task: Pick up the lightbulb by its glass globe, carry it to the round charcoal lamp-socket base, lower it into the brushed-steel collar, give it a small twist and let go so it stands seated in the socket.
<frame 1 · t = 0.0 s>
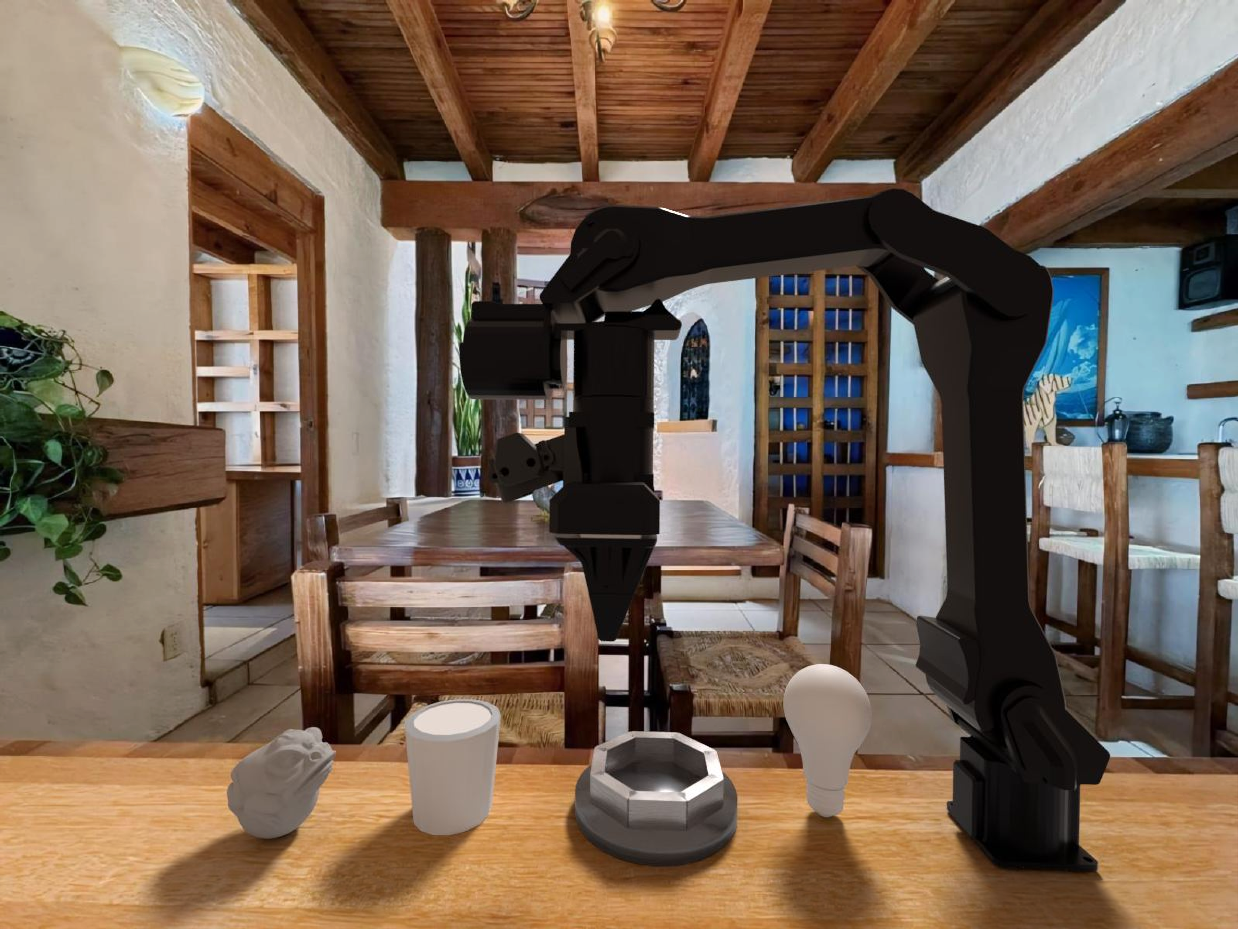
hand: (611, 620, 41), 15 cm above the table, fingers open, 9 cm apart
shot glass: (452, 813, 42), on the table
socket base: (655, 808, 43), on the table
frog figurine: (282, 834, 40), on the table
lightbulb: (824, 817, 42), on the table
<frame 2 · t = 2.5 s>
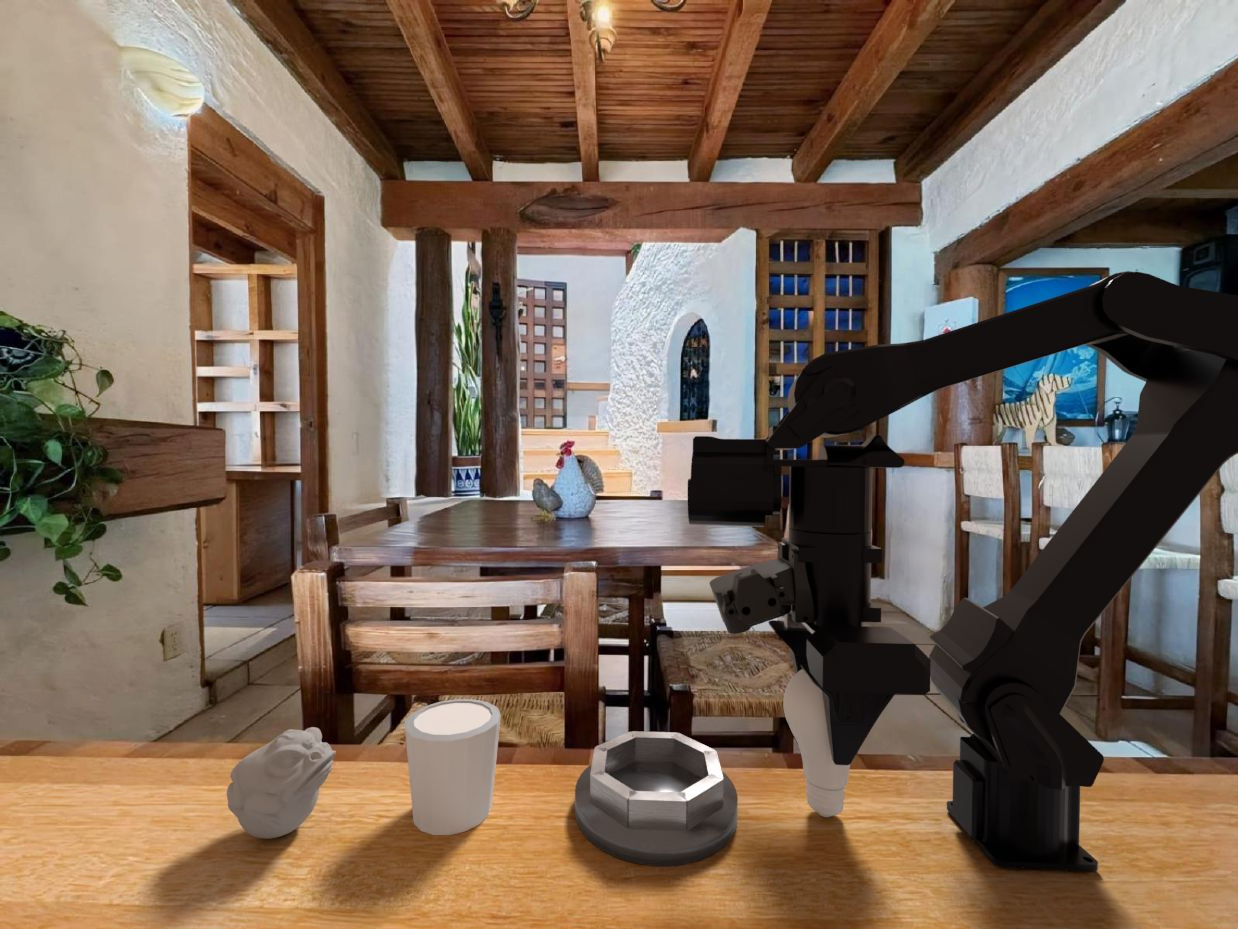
hand: (826, 740, 42), 6 cm above the table, fingers closed on lightbulb, 6 cm apart
lightbulb: (824, 817, 42), on the table, touching gripper
everything else where it was.
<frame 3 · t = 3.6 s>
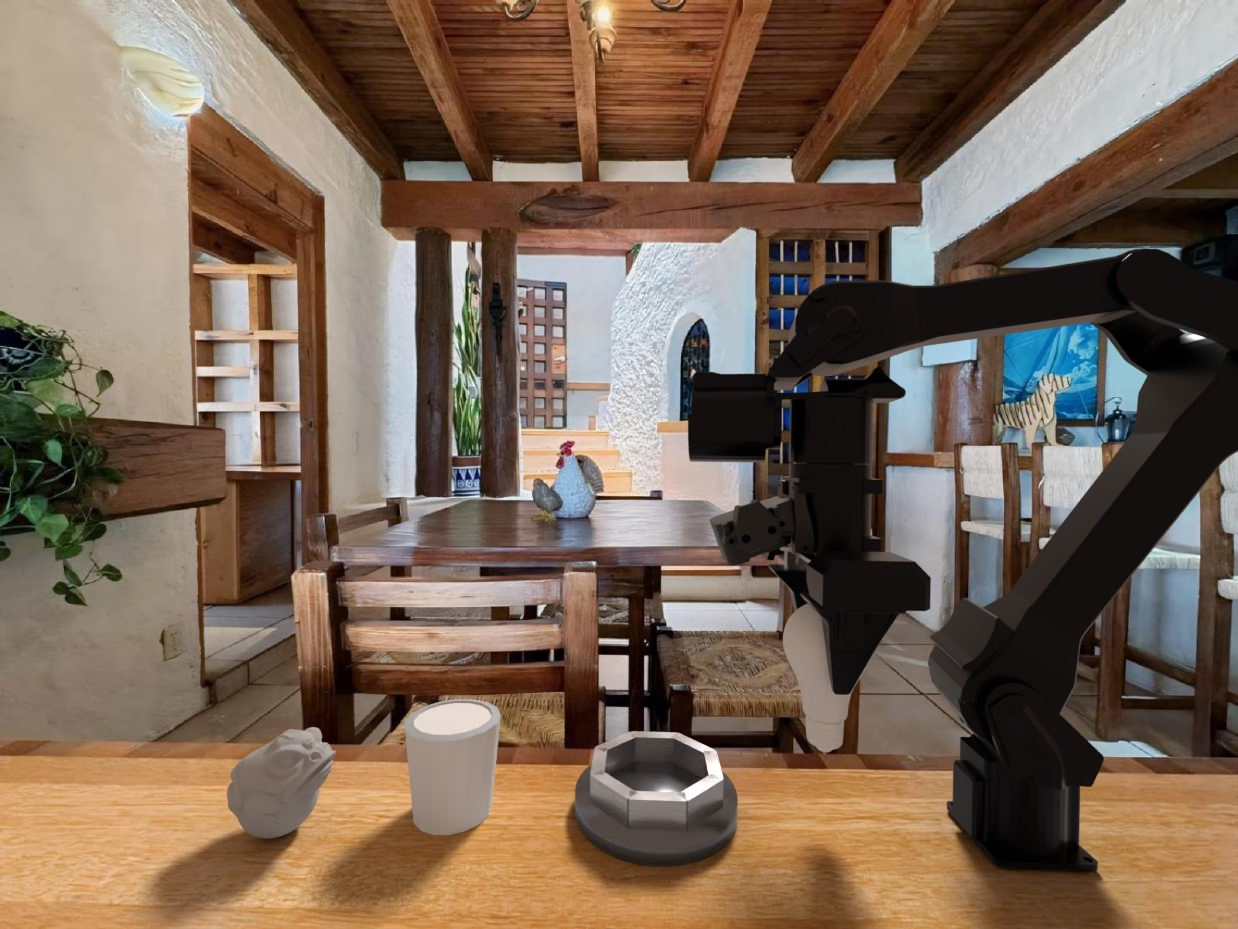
hand: (825, 675, 42), 10 cm above the table, fingers closed on lightbulb, 6 cm apart
lightbulb: (824, 753, 42), point 5 cm above the table, touching gripper
everything else where it was.
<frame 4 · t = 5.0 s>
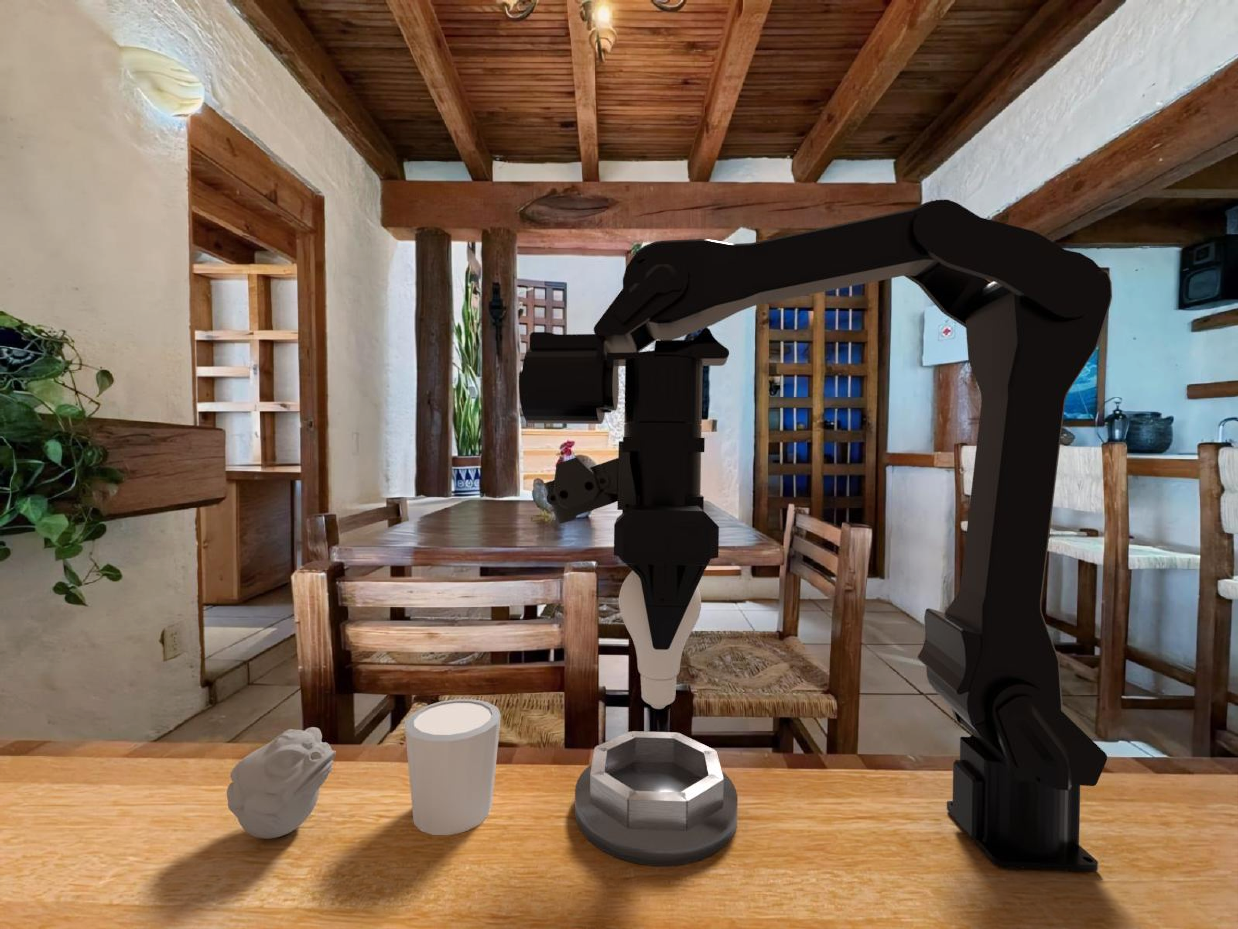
hand: (659, 634, 43), 13 cm above the table, fingers closed on lightbulb, 6 cm apart
lightbulb: (658, 710, 43), point 7 cm above the table, touching gripper
everything else where it was.
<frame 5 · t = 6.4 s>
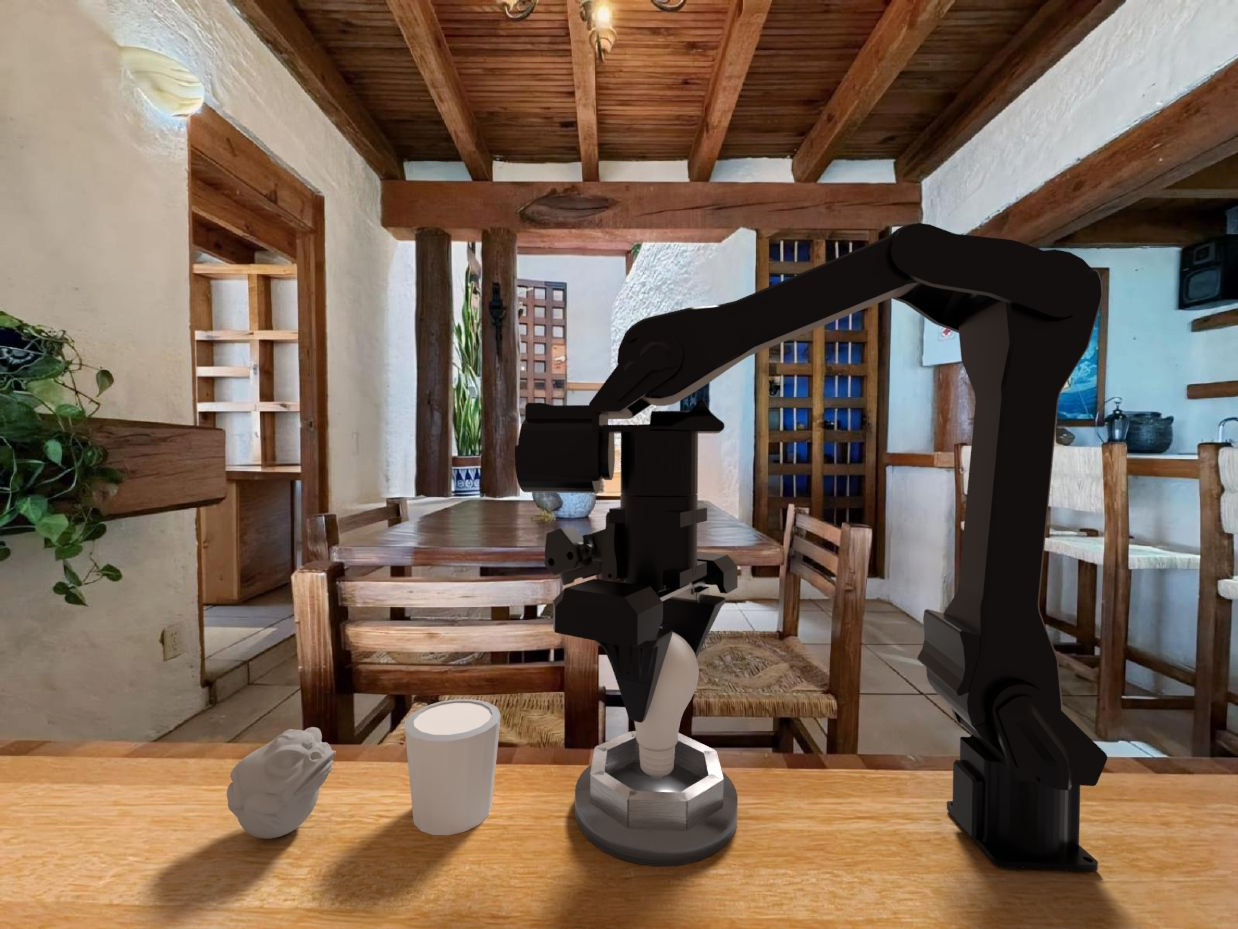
hand: (657, 703, 43), 8 cm above the table, fingers closed on lightbulb, 6 cm apart
lightbulb: (656, 779, 43), point 2 cm above the table, touching gripper
everything else where it was.
when the fingers open (8 cm above the table, at t = 7.6 s): lightbulb stays where it is, resting on socket base.
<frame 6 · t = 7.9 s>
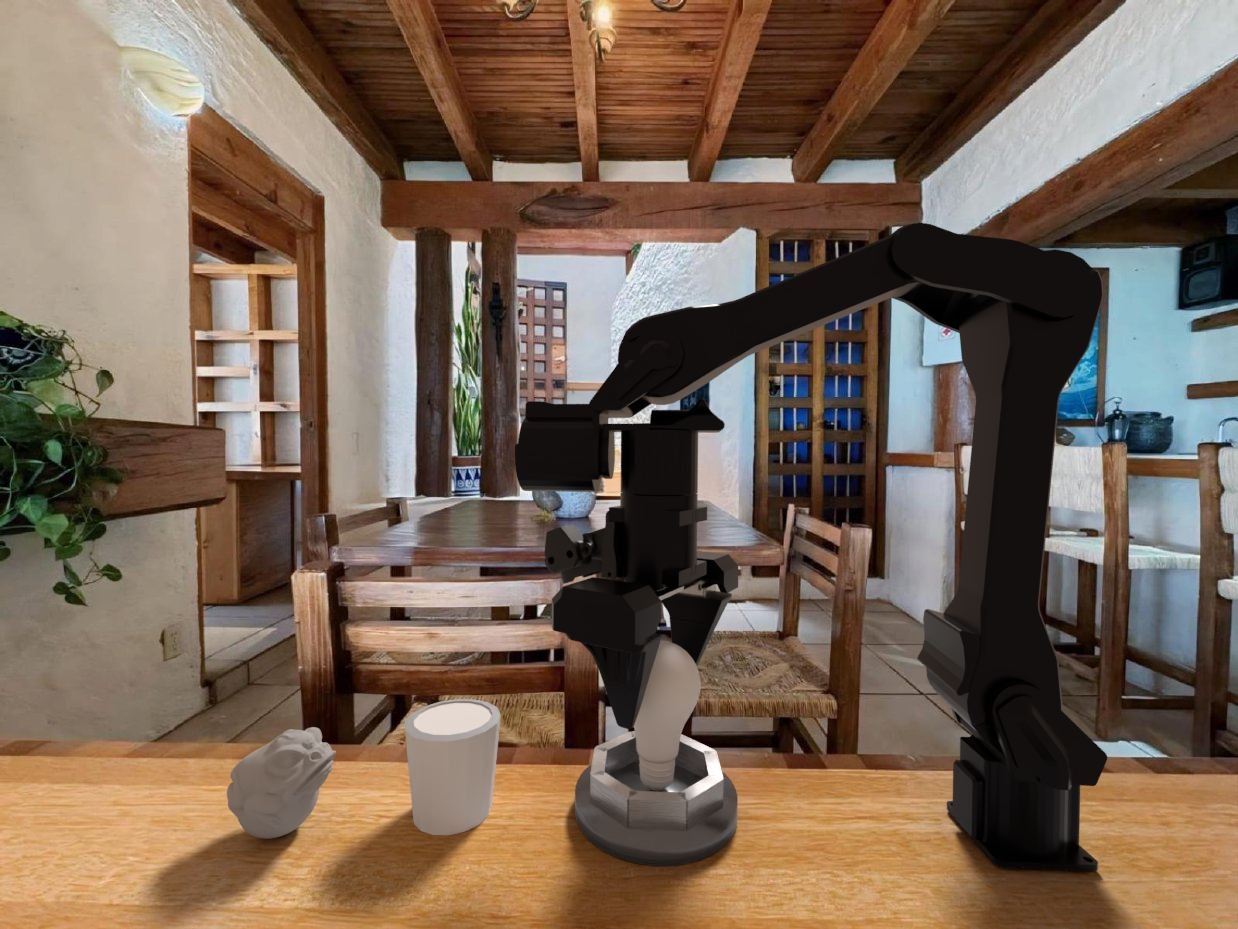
hand: (656, 702, 43), 8 cm above the table, fingers open, 9 cm apart
lightbulb: (656, 791, 43), point 1 cm above the table, touching socket base
everything else where it was.
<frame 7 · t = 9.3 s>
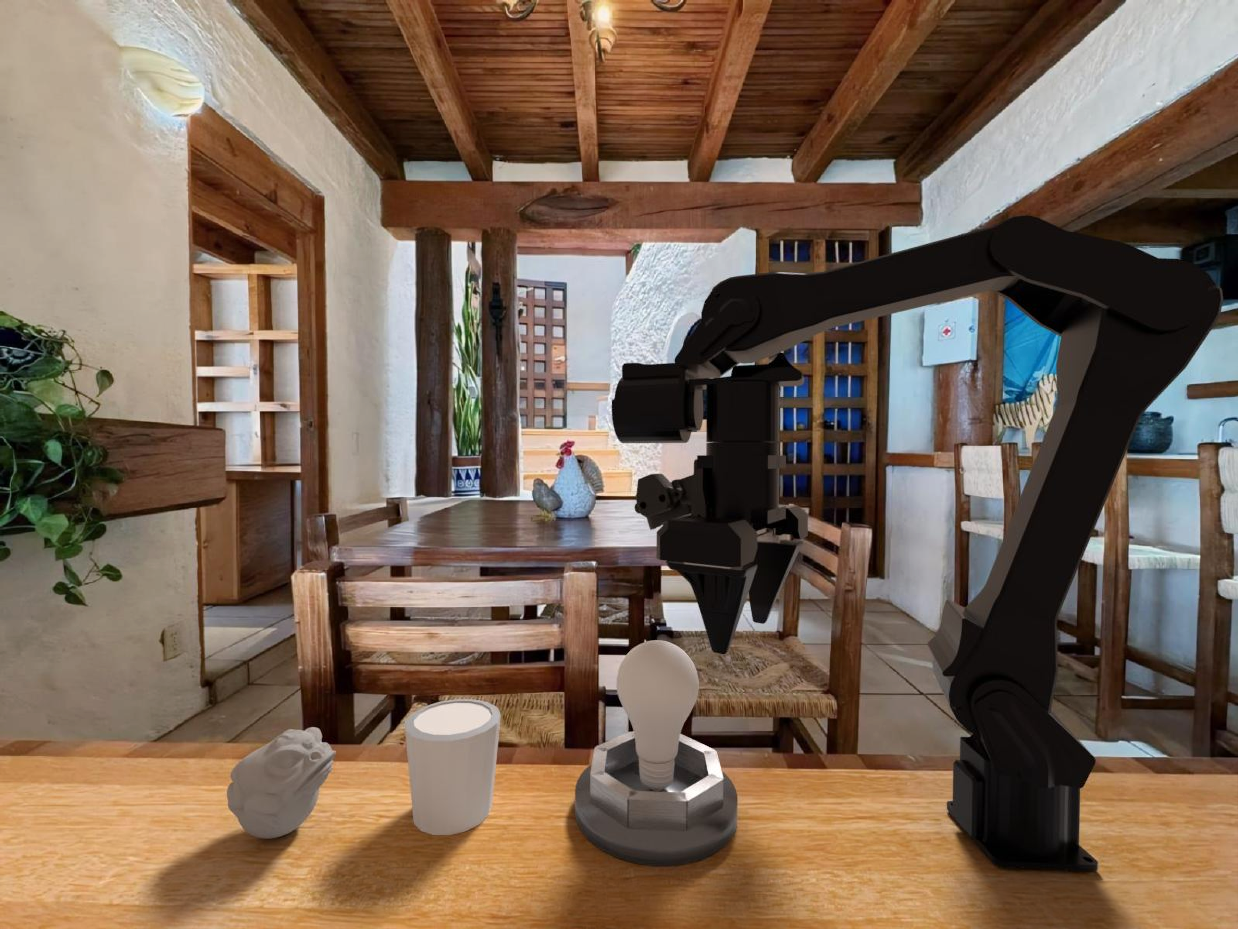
hand: (741, 636, 46), 12 cm above the table, fingers open, 9 cm apart
nothing on the table moved.
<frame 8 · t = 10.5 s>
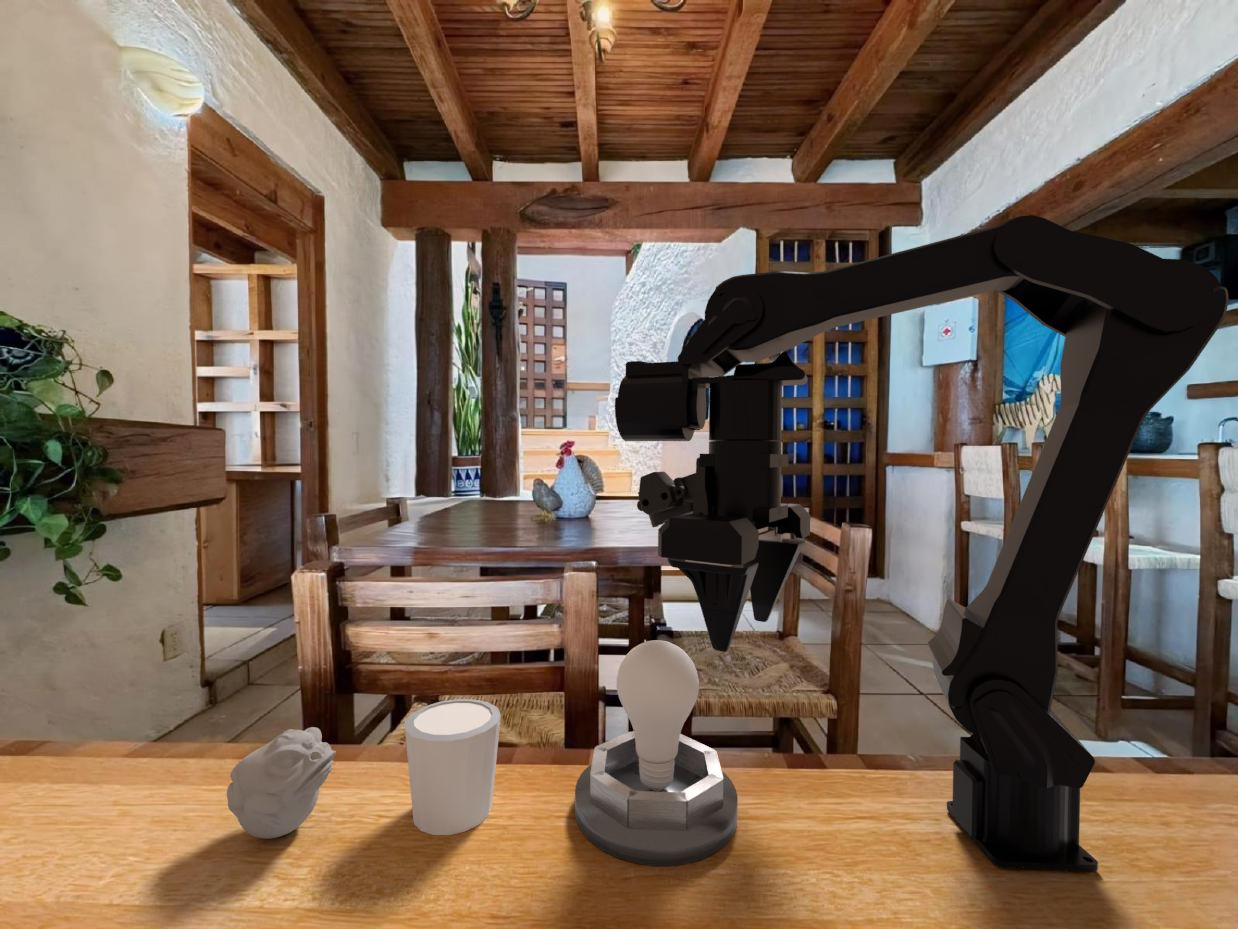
hand: (742, 634, 46), 12 cm above the table, fingers open, 9 cm apart
nothing on the table moved.
at the end: lightbulb 0.1 cm off-centre on the socket base, point 1.3 cm above the socket base's base; lightbulb tilted 0°; the gripper is holding nothing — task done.
